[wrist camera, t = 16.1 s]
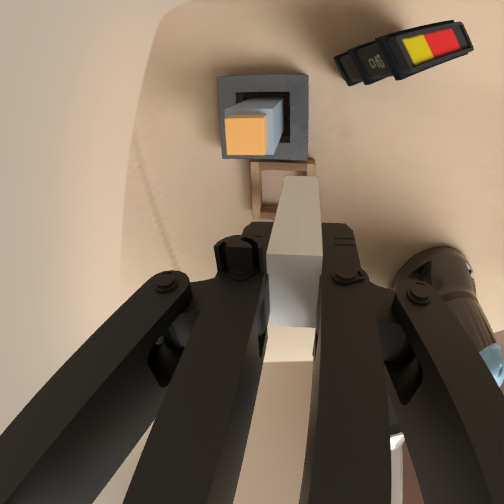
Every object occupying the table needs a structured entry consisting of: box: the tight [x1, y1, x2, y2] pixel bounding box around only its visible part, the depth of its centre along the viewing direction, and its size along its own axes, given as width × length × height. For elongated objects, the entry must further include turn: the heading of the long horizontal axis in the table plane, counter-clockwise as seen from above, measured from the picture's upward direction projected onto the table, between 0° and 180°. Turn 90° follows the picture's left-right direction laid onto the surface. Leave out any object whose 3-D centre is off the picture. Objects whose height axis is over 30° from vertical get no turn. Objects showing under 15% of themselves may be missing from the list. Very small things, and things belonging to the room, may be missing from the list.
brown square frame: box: [251, 159, 315, 220], centre depth 38 cm, size 8×8×2 cm
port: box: [217, 74, 308, 161], centre depth 32 cm, size 10×10×4 cm
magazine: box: [333, 20, 474, 86], centre depth 22 cm, size 4×13×15 cm, turn 119°
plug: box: [225, 98, 284, 155], centre depth 28 cm, size 4×4×15 cm
